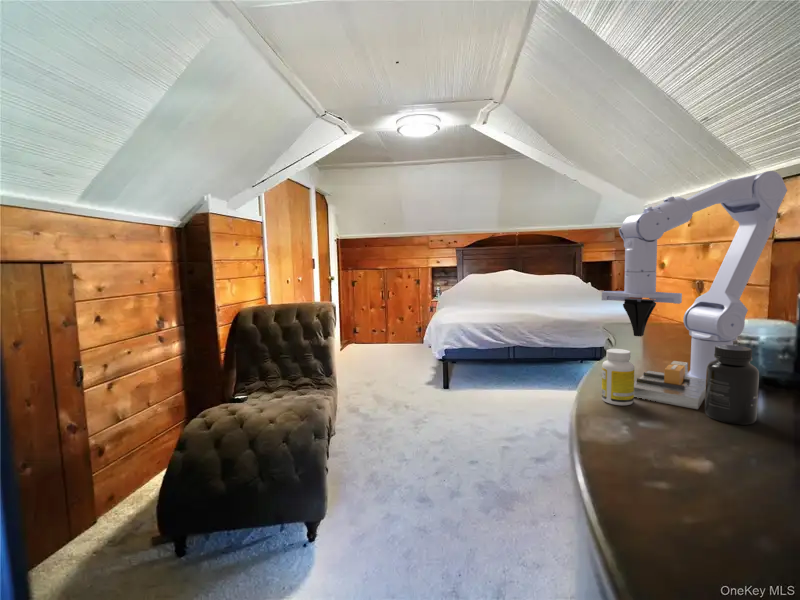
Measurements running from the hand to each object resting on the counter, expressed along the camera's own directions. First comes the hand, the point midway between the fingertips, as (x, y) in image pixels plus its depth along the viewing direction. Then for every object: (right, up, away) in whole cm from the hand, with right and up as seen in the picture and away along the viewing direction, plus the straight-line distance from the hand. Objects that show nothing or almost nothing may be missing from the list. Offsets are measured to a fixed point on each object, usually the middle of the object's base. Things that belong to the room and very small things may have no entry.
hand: (638, 335), depth 87 cm
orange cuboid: (+3, -9, -6) cm, 11 cm away
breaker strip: (+3, -11, -6) cm, 13 cm away
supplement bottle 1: (-9, -12, -9) cm, 18 cm away
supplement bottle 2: (+5, -12, -18) cm, 22 cm away
